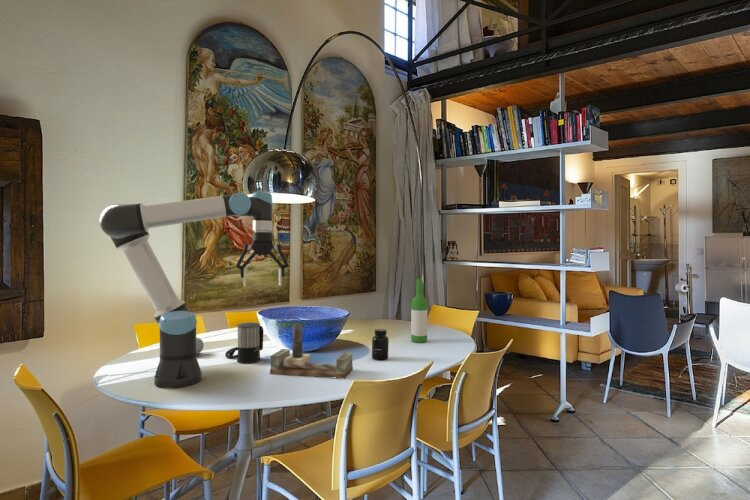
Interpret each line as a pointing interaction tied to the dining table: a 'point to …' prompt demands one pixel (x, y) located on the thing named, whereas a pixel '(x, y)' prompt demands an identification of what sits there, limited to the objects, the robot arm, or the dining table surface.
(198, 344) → the ceramic mug
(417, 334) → the wine bottle
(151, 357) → the dining table surface
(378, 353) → the supplement bottle
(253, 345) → the milk frother
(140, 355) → the dining table surface
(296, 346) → the carriage
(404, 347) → the dining table surface
